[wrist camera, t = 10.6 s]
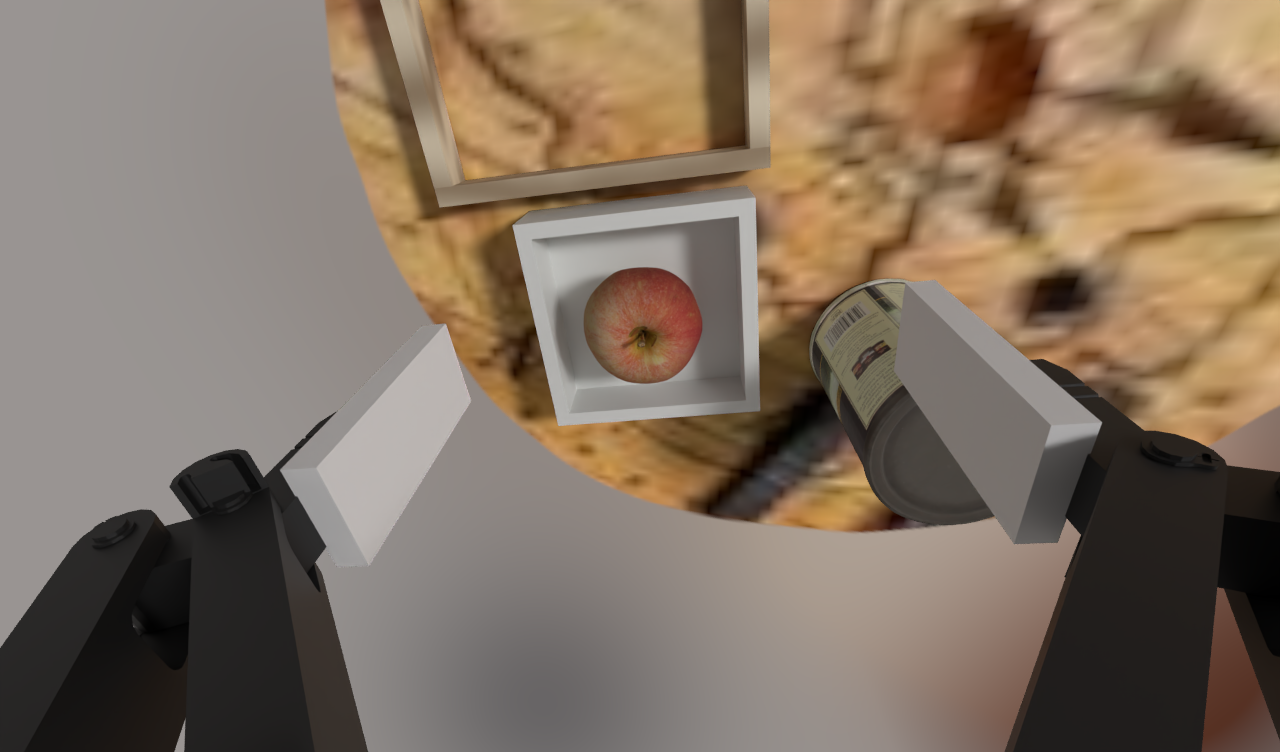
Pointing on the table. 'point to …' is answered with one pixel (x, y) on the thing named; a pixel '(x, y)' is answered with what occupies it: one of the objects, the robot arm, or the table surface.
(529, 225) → the bin
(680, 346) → the apple
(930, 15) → the table surface
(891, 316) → the coffee can
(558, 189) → the corral
